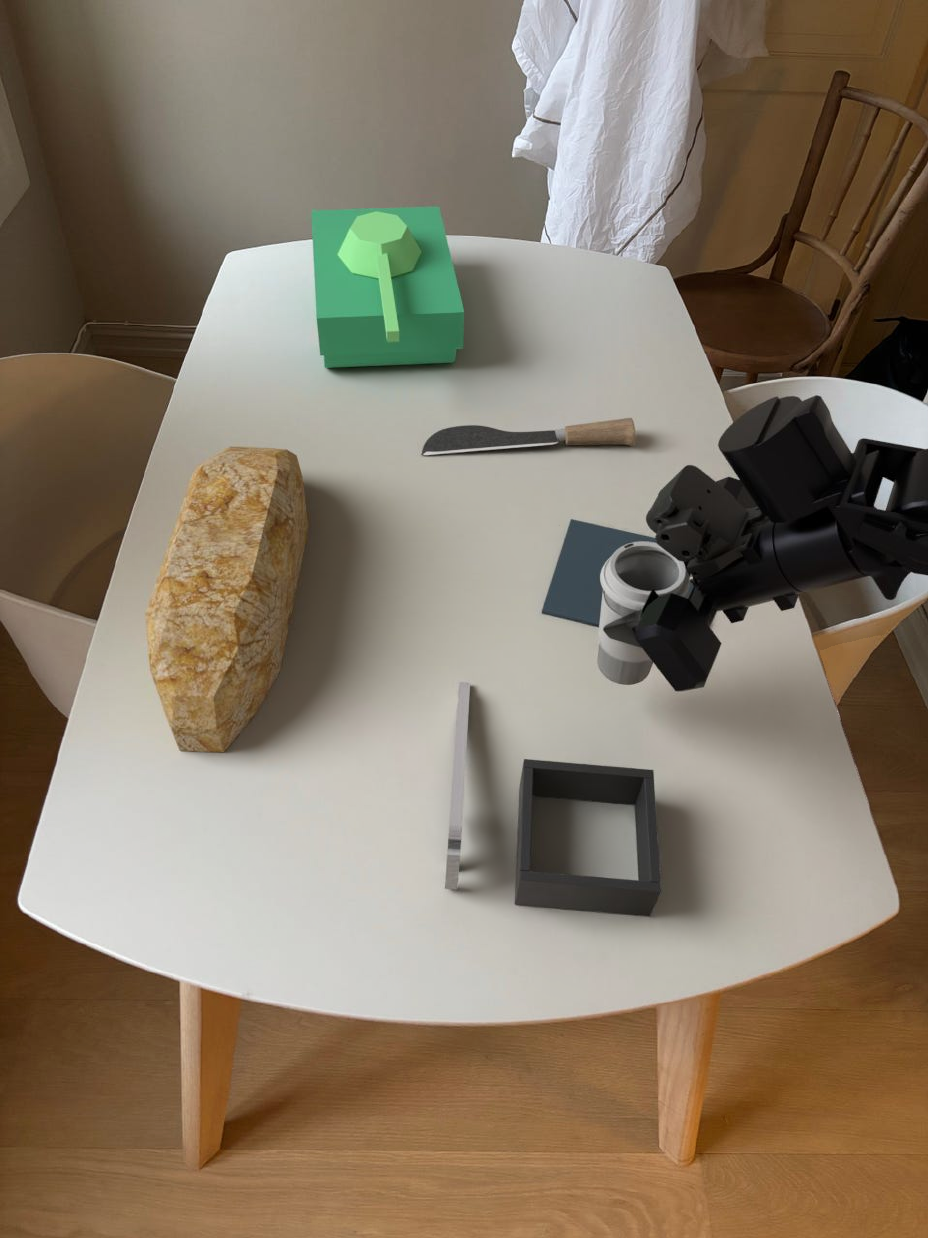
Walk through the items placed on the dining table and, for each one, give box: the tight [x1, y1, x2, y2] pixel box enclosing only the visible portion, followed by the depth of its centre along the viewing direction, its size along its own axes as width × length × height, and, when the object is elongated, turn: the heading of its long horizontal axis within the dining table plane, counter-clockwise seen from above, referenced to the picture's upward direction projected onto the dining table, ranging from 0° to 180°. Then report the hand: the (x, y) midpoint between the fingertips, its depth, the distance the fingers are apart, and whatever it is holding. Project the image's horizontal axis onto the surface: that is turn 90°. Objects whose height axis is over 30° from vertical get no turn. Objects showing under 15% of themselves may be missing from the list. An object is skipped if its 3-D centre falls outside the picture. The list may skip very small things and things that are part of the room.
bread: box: [144, 446, 309, 753], centre depth 89 cm, size 36×11×10 cm, turn 178°
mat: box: [541, 518, 693, 628], centre depth 96 cm, size 16×14×1 cm
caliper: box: [444, 681, 471, 890], centre depth 78 cm, size 20×1×6 cm, turn 177°
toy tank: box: [310, 206, 465, 369], centre depth 120 cm, size 18×12×35 cm
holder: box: [514, 758, 662, 917], centre depth 75 cm, size 11×11×4 cm
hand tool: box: [421, 417, 636, 456], centre depth 110 cm, size 6×3×25 cm
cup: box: [596, 541, 690, 686], centre depth 77 cm, size 7×7×12 cm
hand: (621, 603), depth 77 cm, fingers closed on cup, 7 cm apart
